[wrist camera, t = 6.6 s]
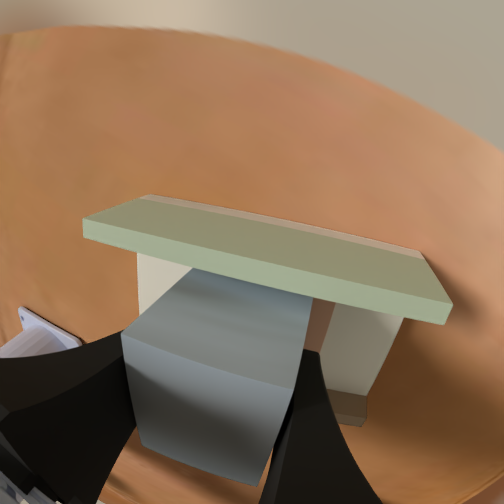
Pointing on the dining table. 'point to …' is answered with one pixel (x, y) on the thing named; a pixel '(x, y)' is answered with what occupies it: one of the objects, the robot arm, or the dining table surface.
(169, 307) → the slate cabinet block
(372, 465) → the dining table surface
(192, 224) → the open-front display tray
